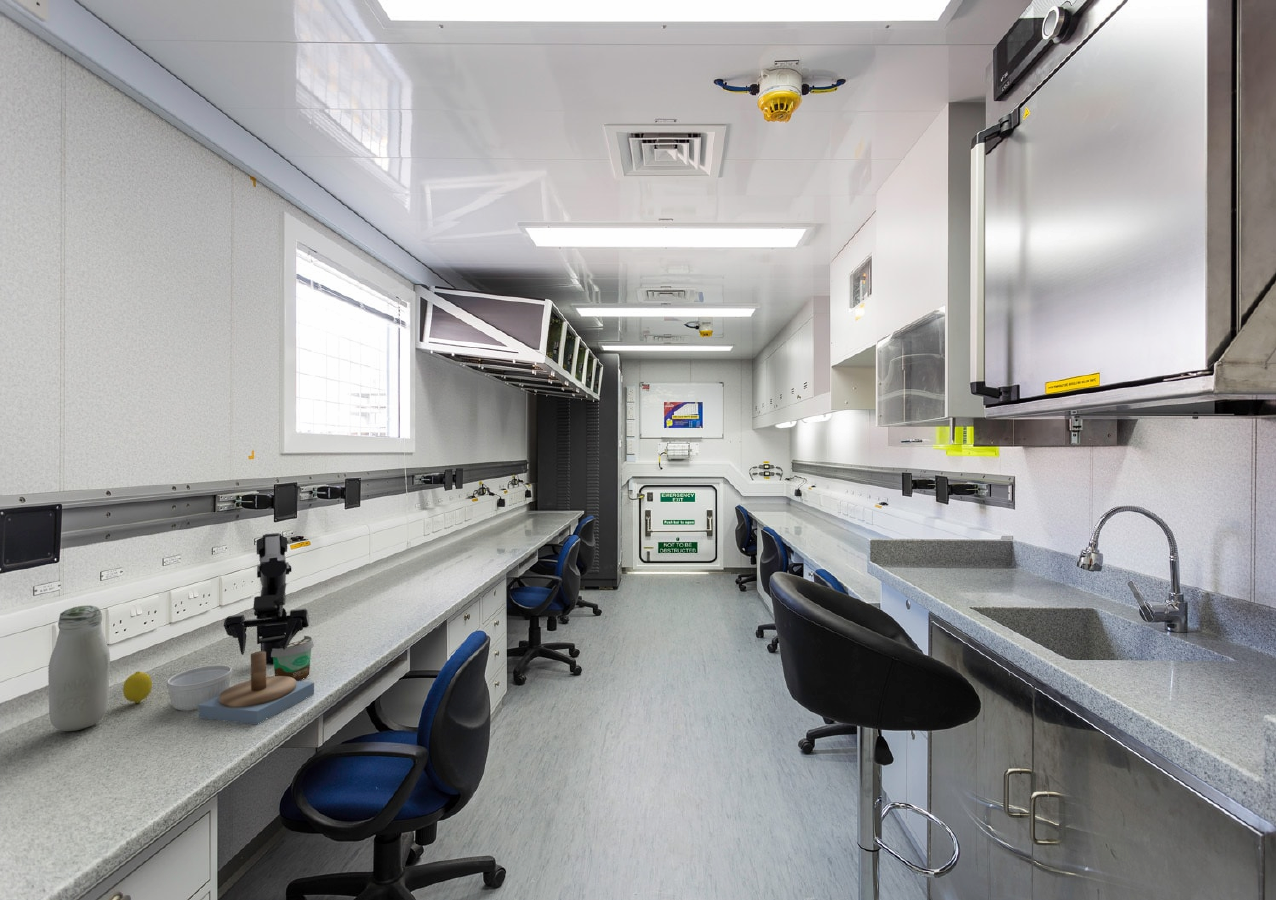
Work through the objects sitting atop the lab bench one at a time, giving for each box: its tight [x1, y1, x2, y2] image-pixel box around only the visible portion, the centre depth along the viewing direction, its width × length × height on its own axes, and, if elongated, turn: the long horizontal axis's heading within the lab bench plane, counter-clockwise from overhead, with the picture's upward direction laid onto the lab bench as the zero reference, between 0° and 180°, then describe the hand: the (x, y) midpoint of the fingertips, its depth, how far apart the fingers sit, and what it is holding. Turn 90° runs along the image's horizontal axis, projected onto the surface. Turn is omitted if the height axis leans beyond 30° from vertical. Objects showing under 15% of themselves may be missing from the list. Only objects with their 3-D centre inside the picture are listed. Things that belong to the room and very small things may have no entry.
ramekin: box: [166, 664, 233, 711], centre depth 146 cm, size 13×13×7 cm
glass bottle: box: [47, 605, 111, 732], centre depth 132 cm, size 10×10×28 cm
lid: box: [219, 650, 296, 708], centre depth 143 cm, size 16×16×10 cm
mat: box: [198, 680, 315, 725], centre depth 143 cm, size 17×17×3 cm
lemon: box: [122, 670, 153, 704], centre depth 145 cm, size 6×6×8 cm
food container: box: [271, 635, 315, 681], centre depth 160 cm, size 12×6×10 cm, turn 168°
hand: (263, 651), depth 148 cm, fingers open, 9 cm apart
